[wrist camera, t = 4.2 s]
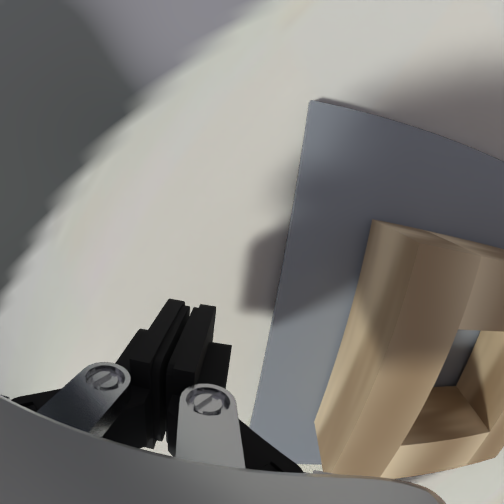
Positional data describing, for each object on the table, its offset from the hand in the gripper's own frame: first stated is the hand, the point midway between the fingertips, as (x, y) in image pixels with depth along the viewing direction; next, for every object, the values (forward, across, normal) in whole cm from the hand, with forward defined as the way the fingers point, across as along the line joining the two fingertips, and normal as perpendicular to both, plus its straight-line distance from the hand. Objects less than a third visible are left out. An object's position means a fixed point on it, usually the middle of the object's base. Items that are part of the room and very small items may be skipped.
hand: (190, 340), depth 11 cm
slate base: (+3, -15, 0) cm, 15 cm away
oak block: (+3, -11, 0) cm, 11 cm away
